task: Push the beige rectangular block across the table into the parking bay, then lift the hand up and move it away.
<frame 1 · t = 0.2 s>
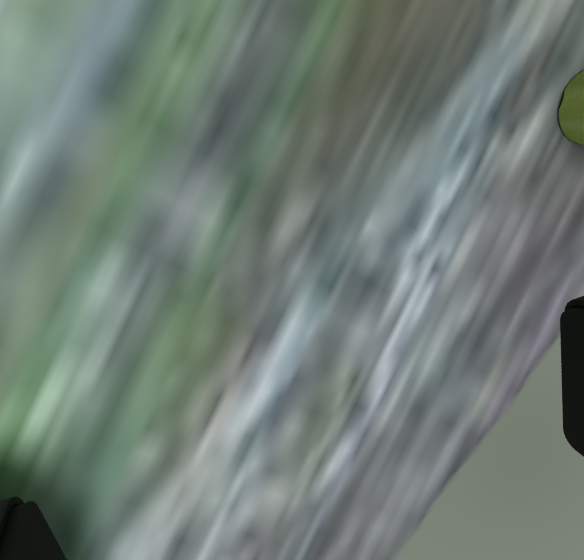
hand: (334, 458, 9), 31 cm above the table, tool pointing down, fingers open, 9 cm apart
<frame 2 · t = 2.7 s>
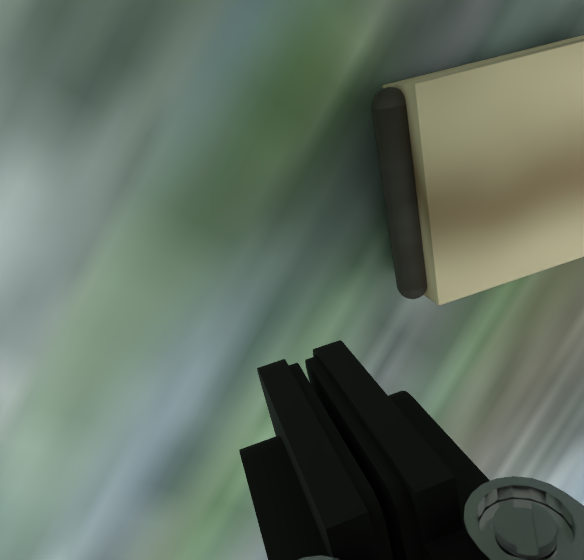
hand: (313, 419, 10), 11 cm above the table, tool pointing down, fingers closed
beige rectangular block: (489, 156, 22), on the table
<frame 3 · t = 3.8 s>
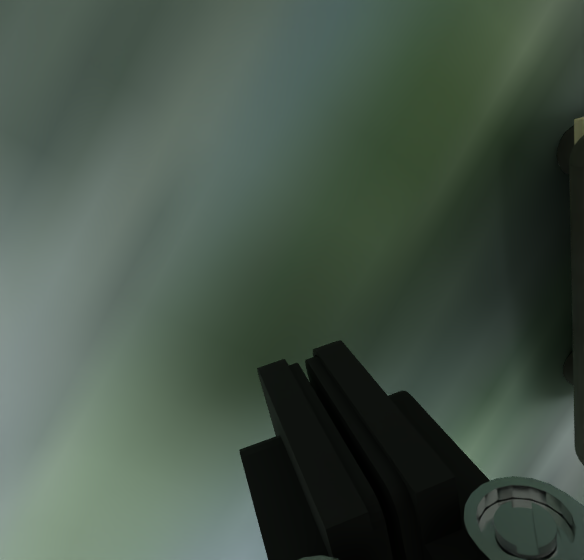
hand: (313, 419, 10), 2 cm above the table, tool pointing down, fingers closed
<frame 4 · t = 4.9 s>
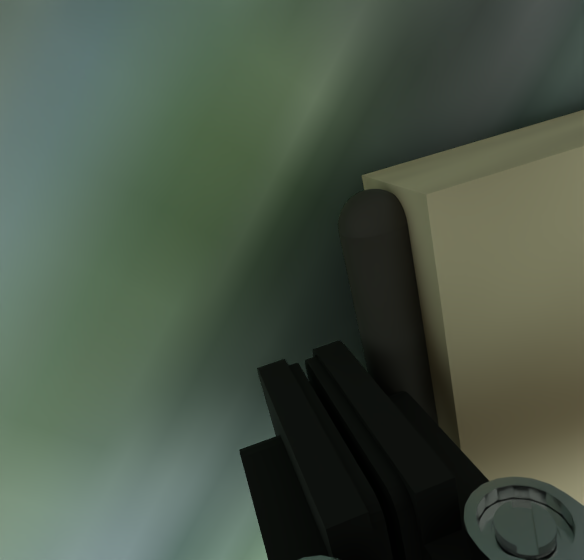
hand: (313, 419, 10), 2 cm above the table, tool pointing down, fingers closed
beige rectangular block: (551, 270, 13), on the table, touching gripper
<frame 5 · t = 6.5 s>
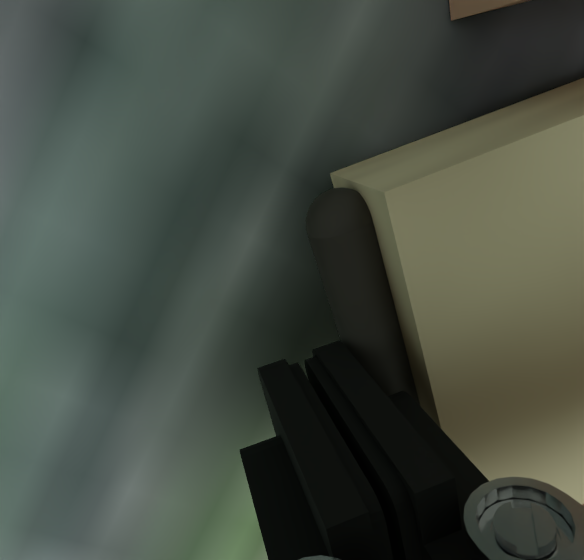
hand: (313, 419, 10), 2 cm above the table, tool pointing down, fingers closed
beige rectangular block: (536, 251, 13), on the table, touching gripper
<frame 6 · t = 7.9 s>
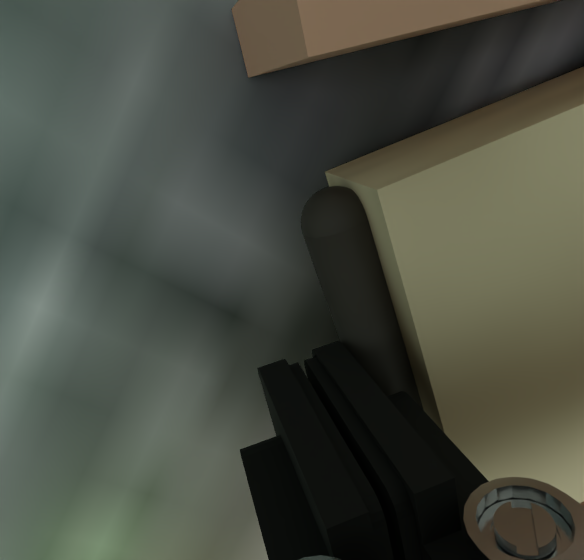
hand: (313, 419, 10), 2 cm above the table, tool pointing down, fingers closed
parking bay: (550, 263, 13), on the table
beige rectangular block: (537, 244, 13), on the table, touching gripper
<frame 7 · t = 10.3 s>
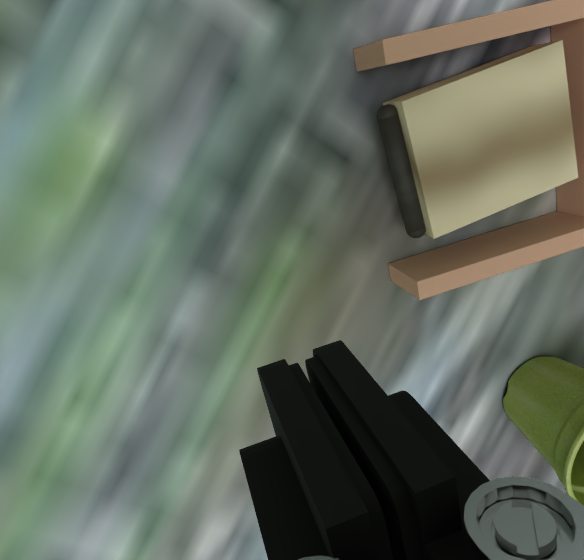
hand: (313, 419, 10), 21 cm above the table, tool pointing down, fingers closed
plant pot: (533, 387, 40), on the table
parking bay: (466, 148, 32), on the table
beige rectangular block: (461, 139, 32), on the table
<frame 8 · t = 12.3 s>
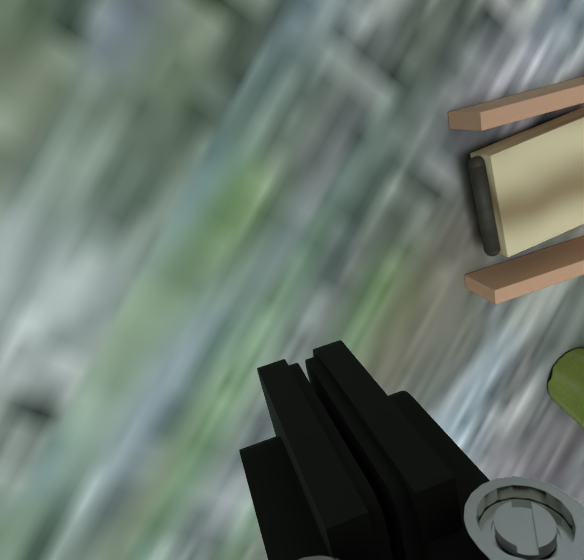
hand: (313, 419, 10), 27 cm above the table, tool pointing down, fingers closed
plant pot: (572, 373, 49), on the table
parking bay: (528, 184, 41), on the table
beige rectangular block: (524, 177, 41), on the table
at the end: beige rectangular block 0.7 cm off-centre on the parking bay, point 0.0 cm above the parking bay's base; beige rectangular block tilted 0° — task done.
